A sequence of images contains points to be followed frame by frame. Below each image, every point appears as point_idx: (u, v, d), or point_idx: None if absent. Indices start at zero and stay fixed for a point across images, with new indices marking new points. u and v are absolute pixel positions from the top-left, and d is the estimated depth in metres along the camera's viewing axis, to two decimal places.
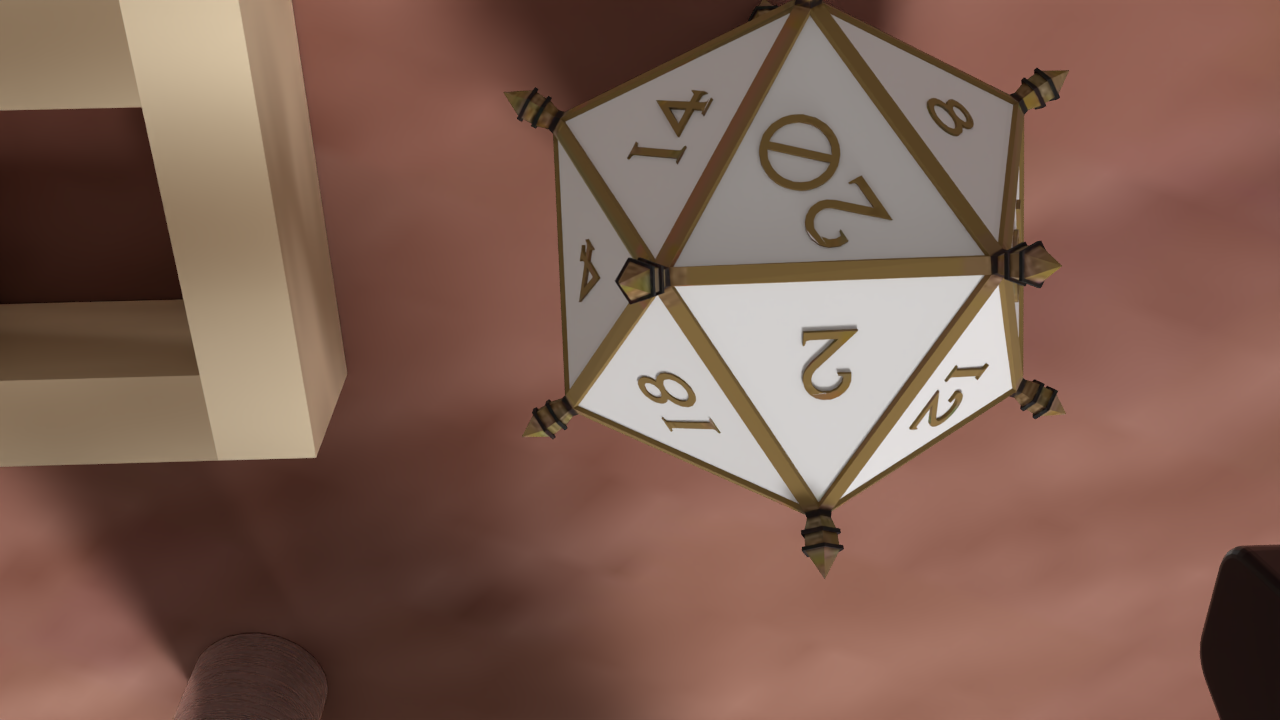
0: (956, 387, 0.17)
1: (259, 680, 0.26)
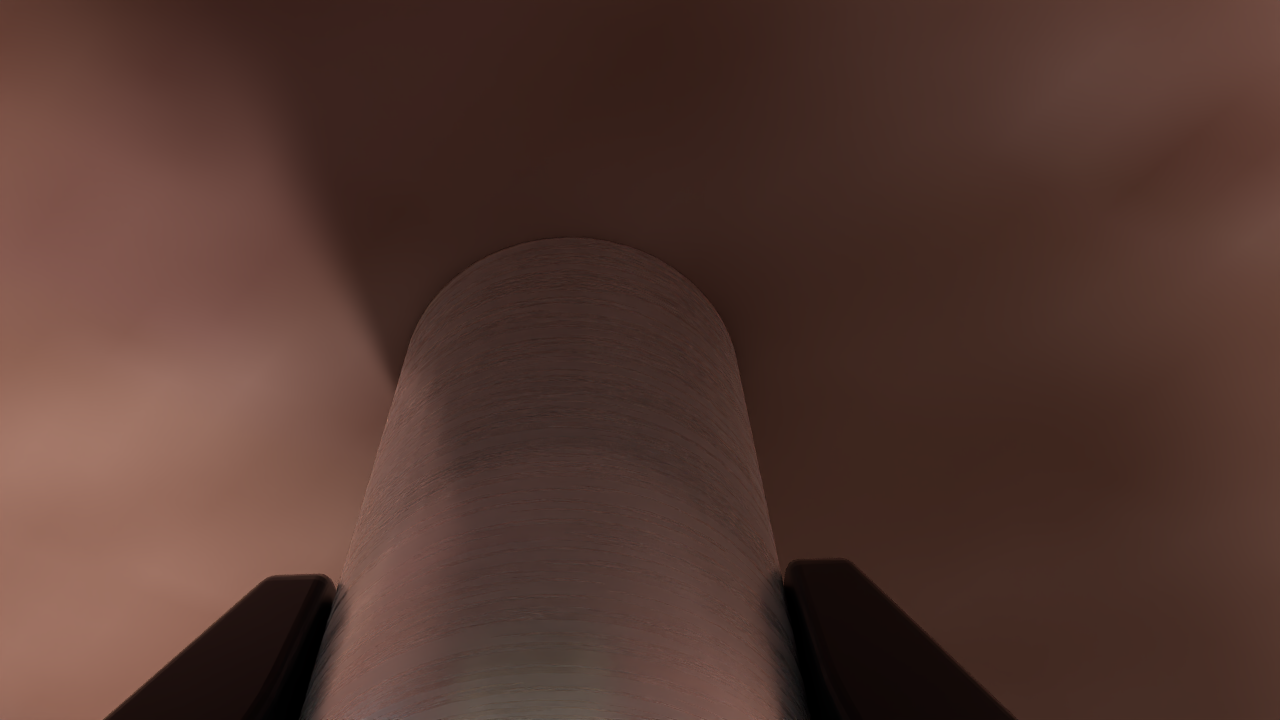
0: None
1: (633, 320, 0.09)
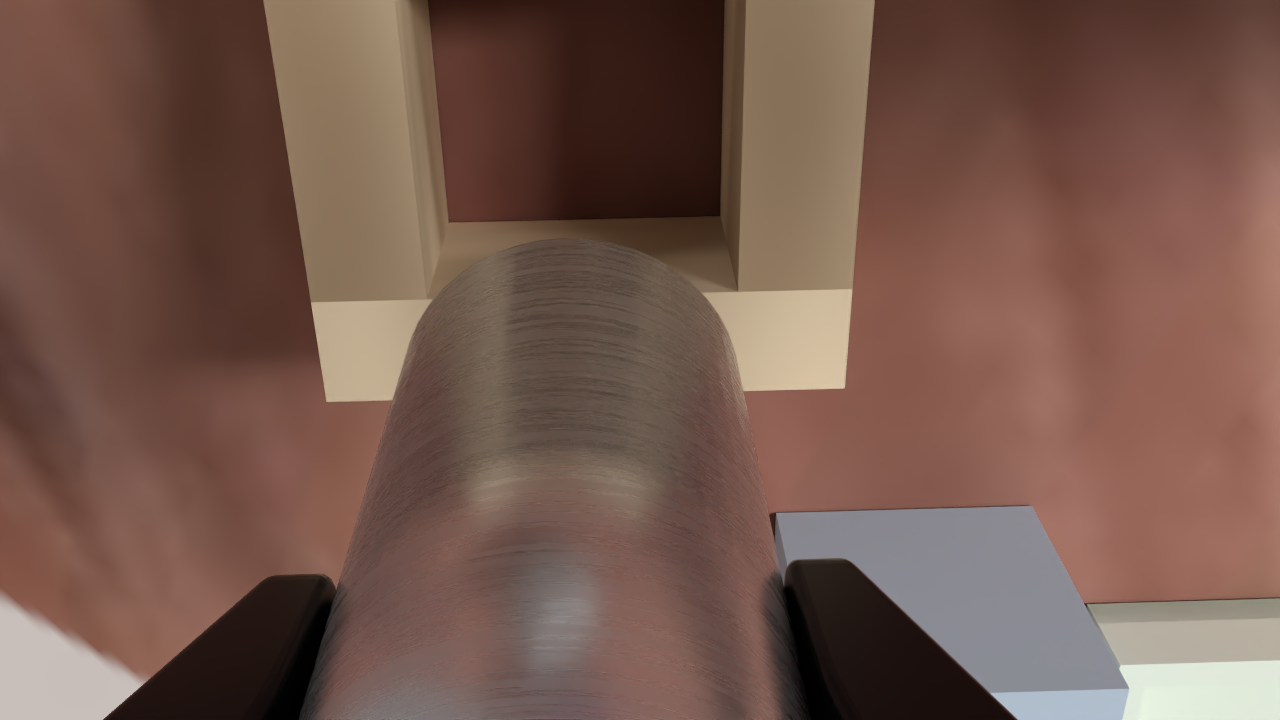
0: None
1: (633, 322, 0.09)
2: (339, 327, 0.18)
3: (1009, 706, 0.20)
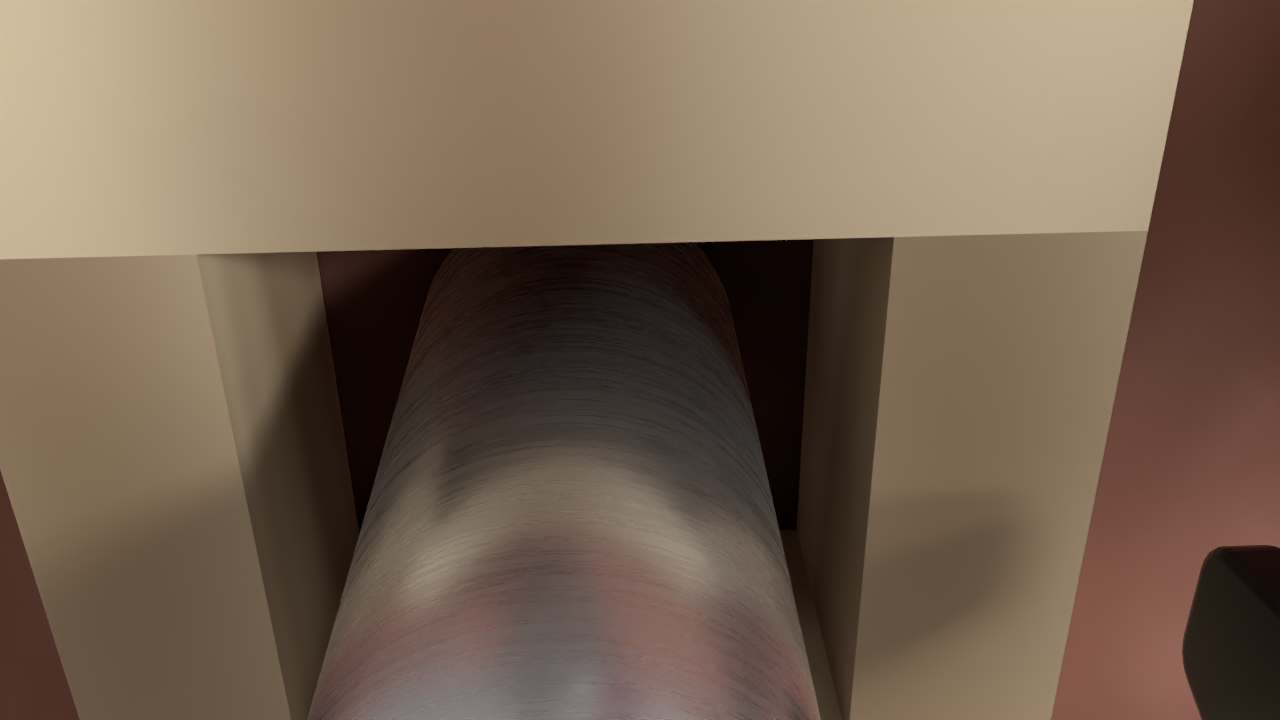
0: None
1: (633, 265, 0.10)
2: None
3: None
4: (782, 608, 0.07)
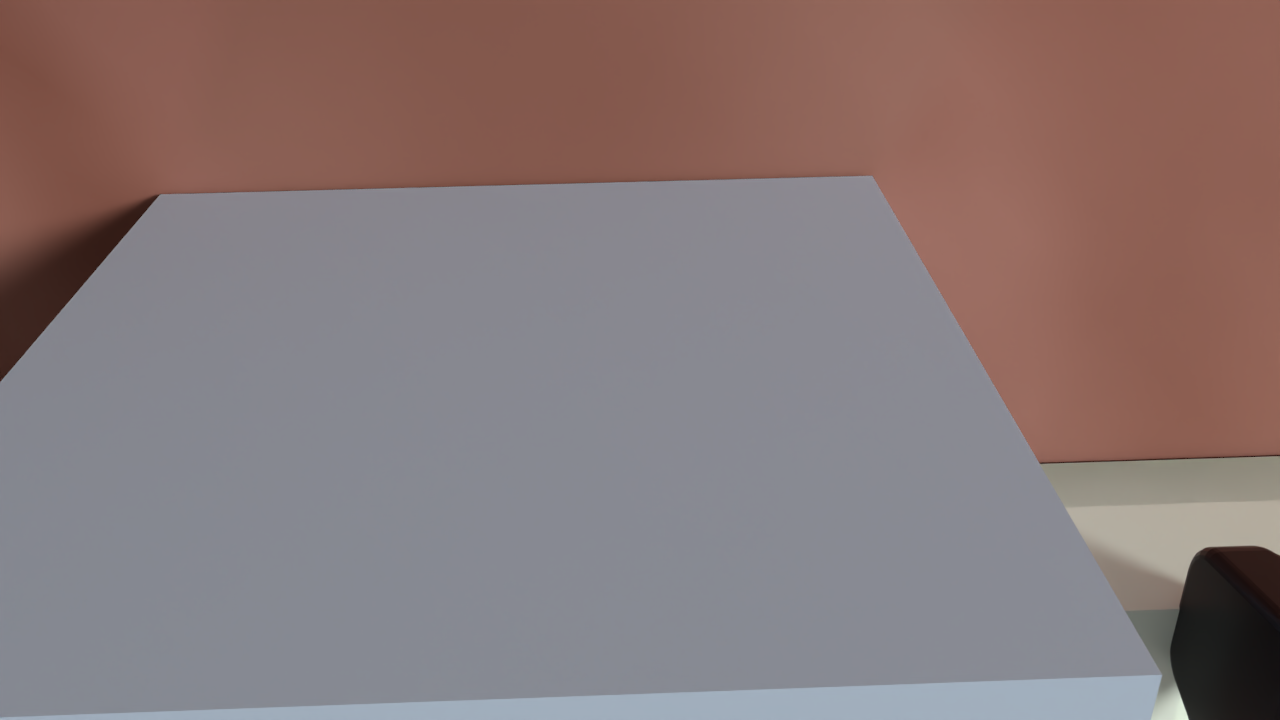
0: None
1: None
2: None
3: None
4: None
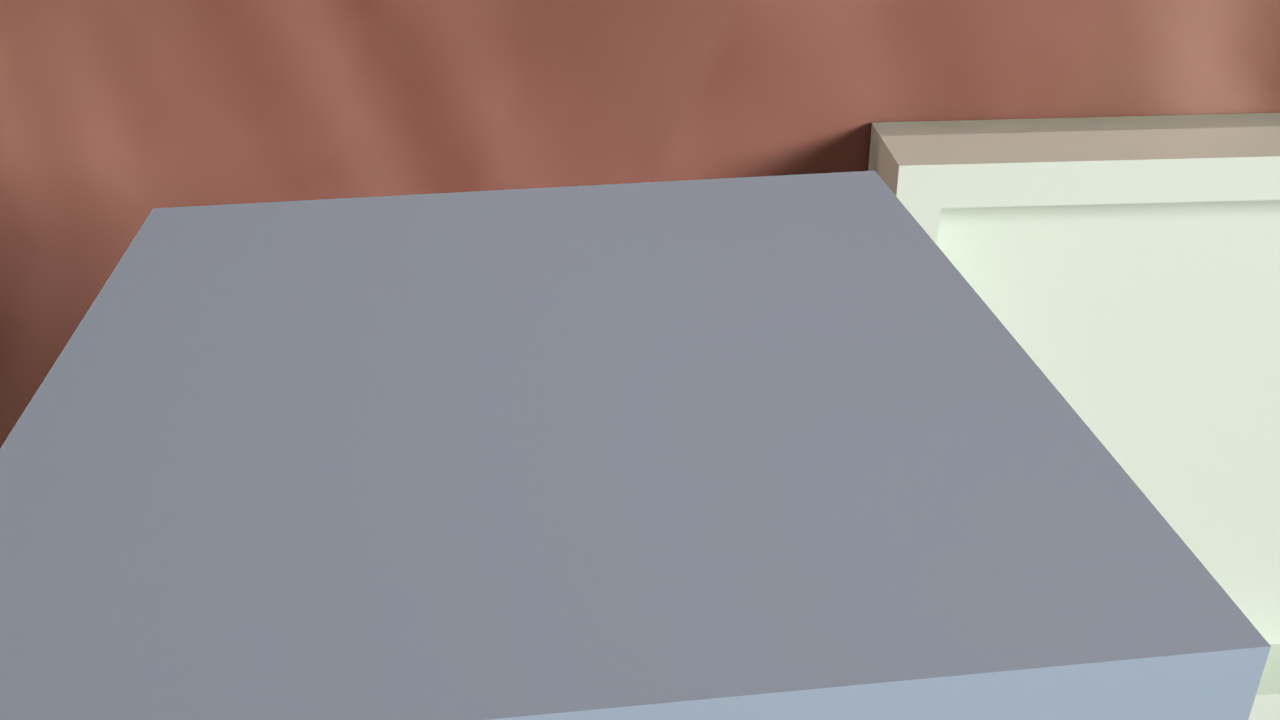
0: None
1: None
2: None
3: None
4: None
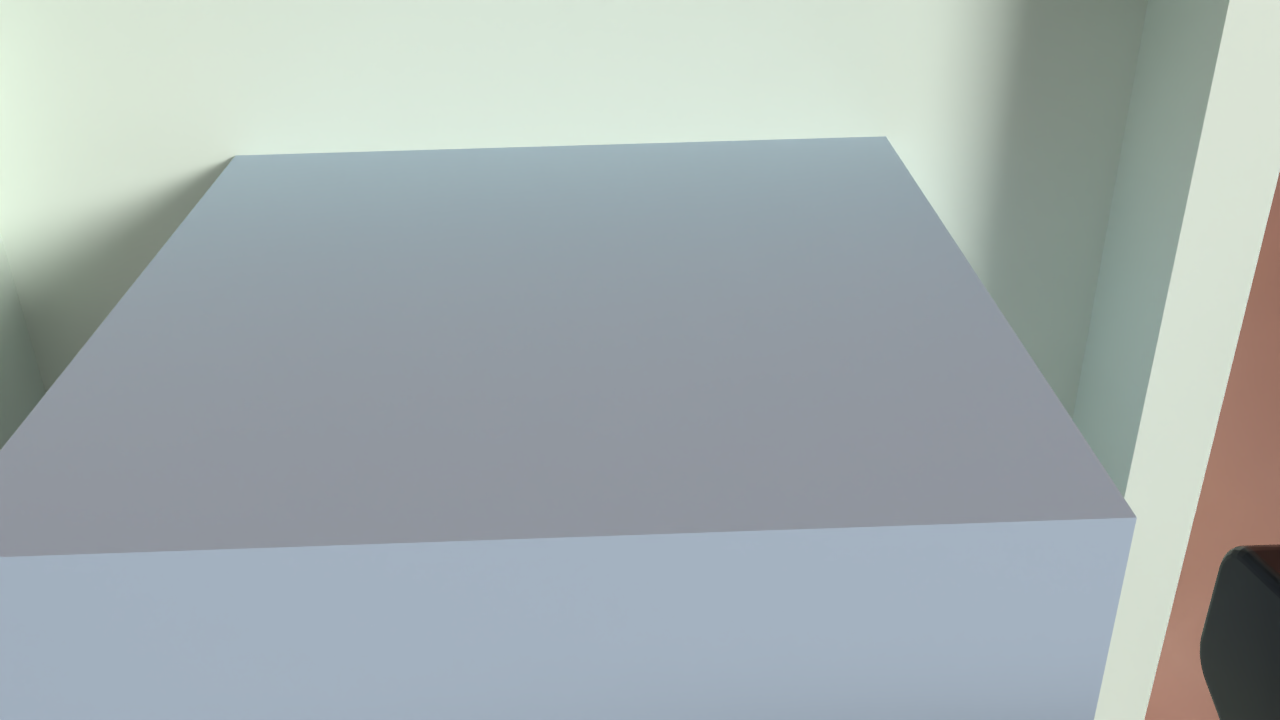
0: None
1: None
2: None
3: (680, 591, 0.05)
4: None
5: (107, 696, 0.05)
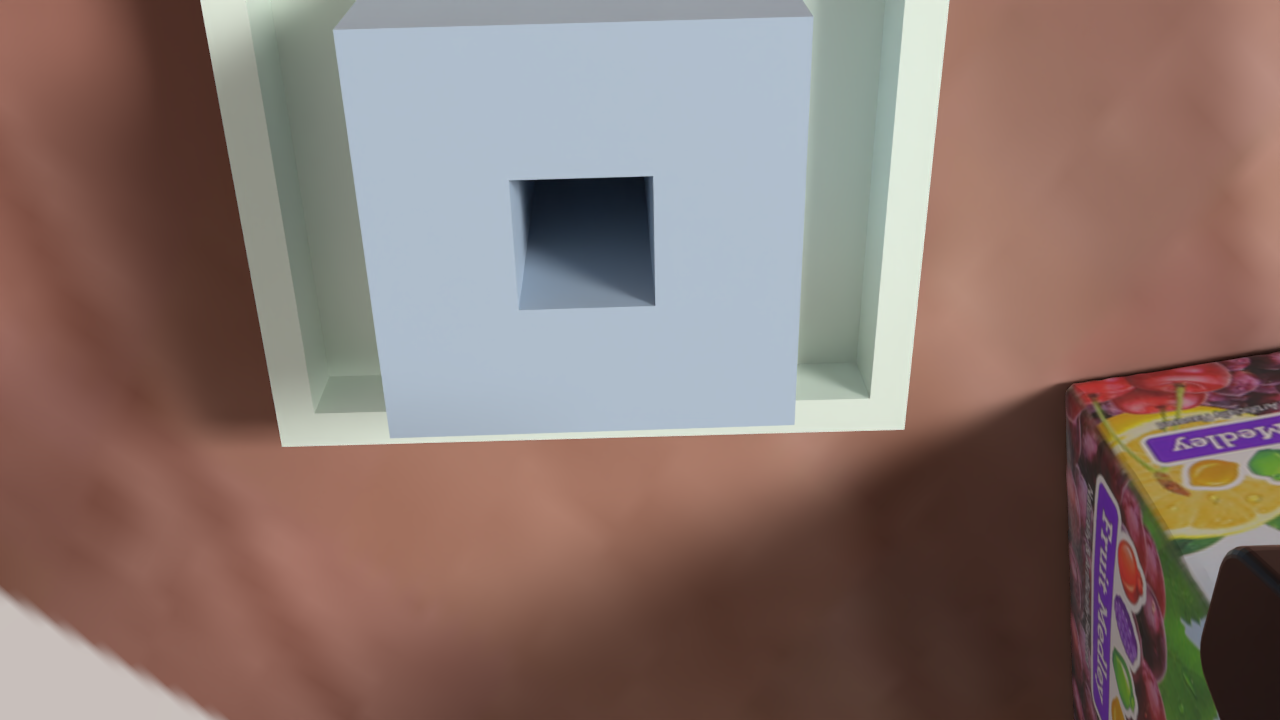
0: None
1: None
2: None
3: (633, 50, 0.13)
4: None
5: (400, 100, 0.13)
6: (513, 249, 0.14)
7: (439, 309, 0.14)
